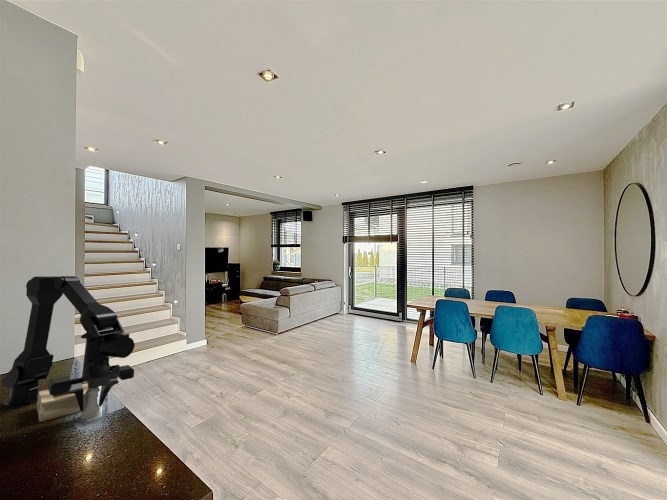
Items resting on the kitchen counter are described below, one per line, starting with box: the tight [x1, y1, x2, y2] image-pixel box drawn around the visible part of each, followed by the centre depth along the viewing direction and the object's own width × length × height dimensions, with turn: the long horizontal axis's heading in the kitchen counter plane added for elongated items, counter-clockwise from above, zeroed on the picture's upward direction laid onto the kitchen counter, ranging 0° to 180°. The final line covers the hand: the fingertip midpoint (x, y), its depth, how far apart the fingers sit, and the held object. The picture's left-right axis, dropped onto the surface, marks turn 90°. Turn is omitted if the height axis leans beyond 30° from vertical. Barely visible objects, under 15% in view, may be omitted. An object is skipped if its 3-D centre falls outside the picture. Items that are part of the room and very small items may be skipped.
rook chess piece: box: [80, 386, 101, 420], centre depth 82 cm, size 4×4×8 cm
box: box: [36, 383, 88, 423], centre depth 85 cm, size 11×11×5 cm
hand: (90, 408), depth 82 cm, fingers open, 4 cm apart
